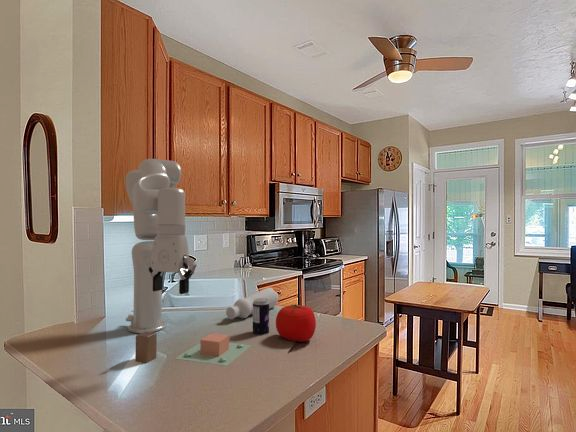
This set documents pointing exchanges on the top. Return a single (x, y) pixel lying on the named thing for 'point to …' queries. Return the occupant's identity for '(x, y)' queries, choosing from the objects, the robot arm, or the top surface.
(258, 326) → the beverage can
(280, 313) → the tomato
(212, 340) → the brick
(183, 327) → the top surface
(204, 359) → the baseplate
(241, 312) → the bottle
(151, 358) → the wooden block
